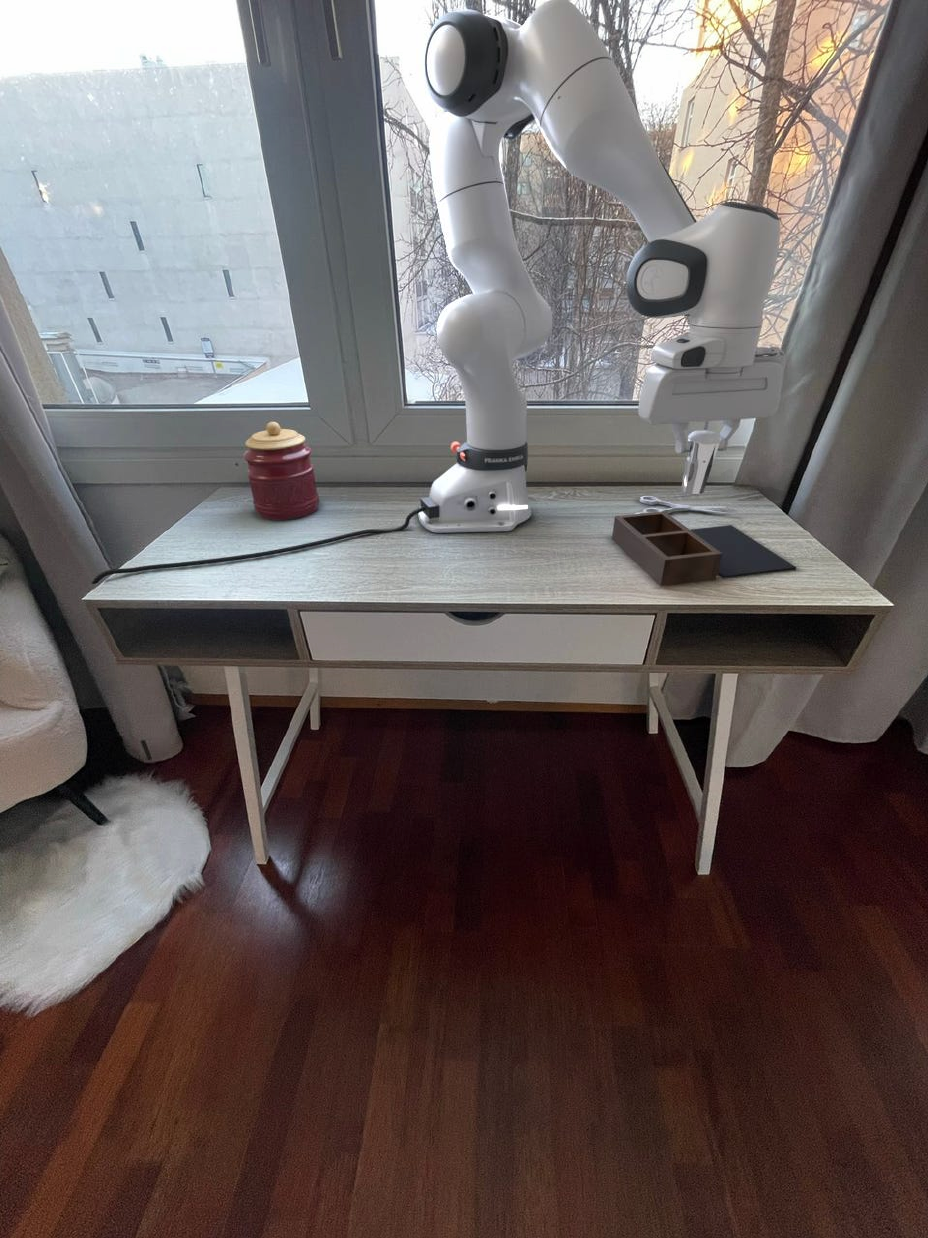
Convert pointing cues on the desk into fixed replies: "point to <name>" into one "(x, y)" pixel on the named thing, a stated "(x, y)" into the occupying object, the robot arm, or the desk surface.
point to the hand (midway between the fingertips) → (699, 451)
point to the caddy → (666, 548)
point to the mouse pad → (741, 553)
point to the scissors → (674, 506)
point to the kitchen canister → (281, 474)
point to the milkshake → (699, 460)
